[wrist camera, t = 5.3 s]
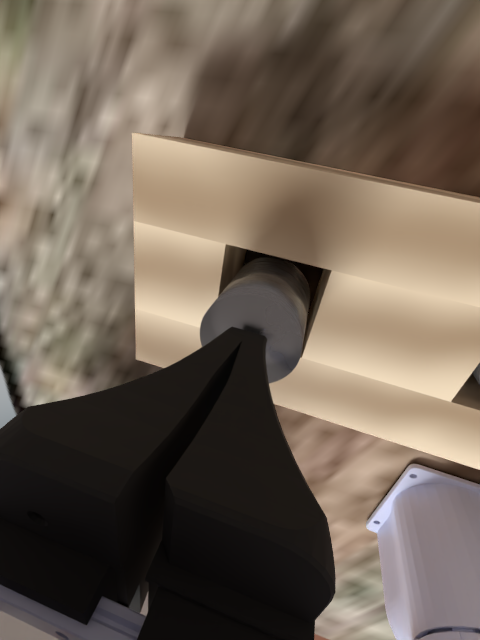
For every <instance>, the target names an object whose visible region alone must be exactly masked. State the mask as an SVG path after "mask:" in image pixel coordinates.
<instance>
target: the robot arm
mask: <svg viewBox="0 0 480 640" xmlns="http://www.w3.org/2000/svg"><path fill="white" fill-rule="evenodd" d="M266 343H267V338H266V337H265V336H263V335H260V334H256V333H253V332H249V331H246V330H242V329H239V328H236V327H230V328H228V329H227V330H226V331H224V332H223V333H222V334H220V335H219V336H218V337H216V338H215V339H213V340H212V341H210V342H209V343H207V344H206V345H204V346H203V347H201V348H200V349H198V350H197V351H195V352H193V353H192V354H190V355H188V356H186V357H185V358H183V359H181V360H179V361H178V362H176V363H174V364H172V365H170V366H168V367H166V368H164V369H162V370H159V371H157V372H155V373H153V374H150V375H148V376H145V377H143V378H140V379H137V380H134V381H131V382H129V383H126V384H123V385H120V386H117V387H114V388H110V389H107V390H104V391H100V392H96V393H92V394H88V395H85V396H80V397H76V398H72V399H67V400H62V401H57V402H52V403H46V404H41V405H36V406H30V407H27V408H26V409H25V410H23V411H22V412H21V413H19V414H18V415H17V416H16V417H14V418H13V419H12V420H11V421H9V422H8V423H7V424H6V425H5V426H4V427H2V428H1V429H0V611H2V612H4V613H6V614H8V615H10V616H12V617H15V618H17V619H19V620H21V621H23V622H25V623H27V624H29V625H31V626H33V627H35V628H37V629H39V630H41V631H43V632H45V633H47V634H49V635H51V636H53V637H55V638H57V639H60V640H314V628H315V620H316V618H317V617H318V616H319V615H320V614H321V613H322V611H323V610H324V609H325V608H326V607H327V606H328V604H329V603H330V602H331V601H332V599H333V596H334V594H335V566H334V557H333V550H332V543H331V537H330V532H329V527H328V522H327V517H326V516H325V514H324V512H323V511H322V509H321V507H320V506H319V504H318V502H317V500H316V499H315V497H314V495H313V493H312V492H311V490H310V488H309V486H308V485H307V483H306V481H305V479H304V477H303V475H302V473H301V471H300V469H299V467H298V465H297V463H296V461H295V459H294V457H293V454H292V452H291V450H290V447H289V445H288V443H287V441H286V438H285V436H284V434H283V431H282V428H281V425H280V423H279V420H278V417H277V413H276V410H275V407H274V403H273V400H272V396H271V391H270V387H269V381H268V375H267V367H266ZM366 527H367V529H368V530H370V531H373V532H376V533H377V537H378V546H379V554H380V563H381V572H382V581H383V590H384V598H385V607H386V613H387V617H388V621H389V624H390V626H391V629H392V631H393V633H394V635H395V637H396V639H397V640H480V484H477V483H473V482H470V481H467V480H464V479H461V478H458V477H455V476H452V475H449V474H446V473H443V472H440V471H437V470H434V469H431V468H428V467H425V466H422V465H419V464H411V465H409V466H408V467H407V469H406V470H405V471H404V473H403V474H402V475H401V477H400V478H399V479H398V481H397V482H396V483H395V485H394V486H393V487H392V489H391V490H390V491H389V493H388V494H387V495H386V497H385V498H384V499H383V501H382V502H381V503H380V505H379V506H378V507H377V509H376V510H375V511H374V513H373V514H372V515H371V517H370V518H369V519H368V521H367V522H366ZM147 593H148V613H147V616H145V615H143V614H140V612H141V610H142V607H143V604H144V601H145V599H146V596H147Z"/></svg>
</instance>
